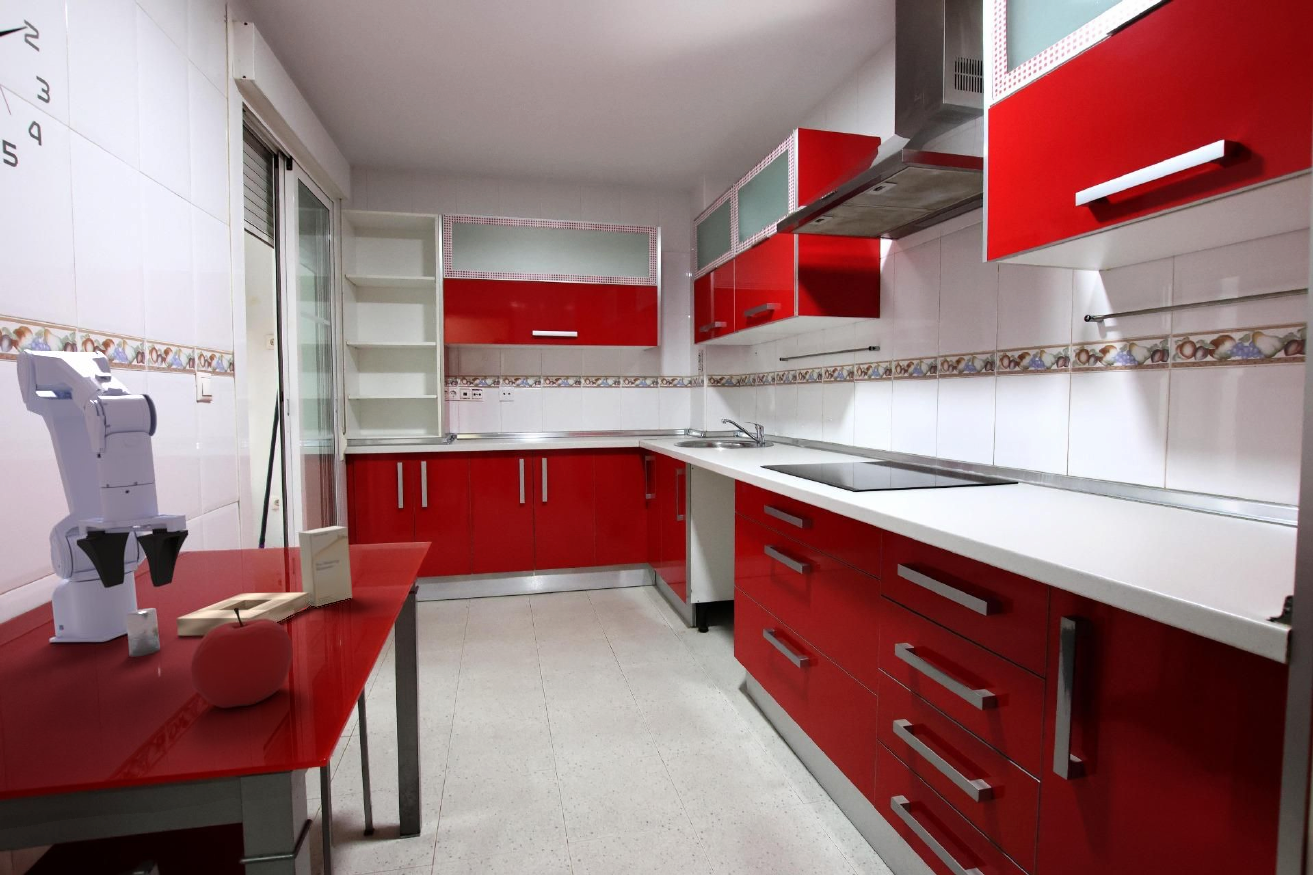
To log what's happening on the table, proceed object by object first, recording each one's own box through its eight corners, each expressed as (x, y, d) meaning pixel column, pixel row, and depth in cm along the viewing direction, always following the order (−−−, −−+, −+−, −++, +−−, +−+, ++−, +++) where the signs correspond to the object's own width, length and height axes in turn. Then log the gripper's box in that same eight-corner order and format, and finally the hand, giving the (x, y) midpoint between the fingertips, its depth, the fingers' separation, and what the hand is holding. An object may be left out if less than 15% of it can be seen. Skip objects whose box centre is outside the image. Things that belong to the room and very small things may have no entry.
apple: (178, 727, 63) (169, 628, 62) (214, 689, 72) (206, 603, 71) (282, 709, 65) (274, 615, 65) (304, 675, 74) (297, 591, 74)
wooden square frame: (178, 635, 91) (176, 618, 91) (243, 608, 103) (242, 593, 103) (251, 634, 90) (250, 617, 90) (309, 607, 101) (308, 592, 101)
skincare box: (315, 609, 101) (309, 533, 100) (302, 605, 103) (296, 531, 103) (354, 598, 106) (348, 526, 105) (341, 594, 108) (335, 524, 108)
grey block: (123, 656, 84) (119, 615, 84) (145, 647, 87) (142, 608, 87) (144, 656, 84) (139, 615, 83) (166, 647, 87) (162, 607, 86)
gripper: (49, 491, 81) (60, 594, 82) (147, 487, 79) (157, 593, 80) (104, 484, 88) (114, 579, 89) (195, 480, 86) (205, 577, 87)
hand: (138, 585), depth 85 cm, fingers open, 7 cm apart
